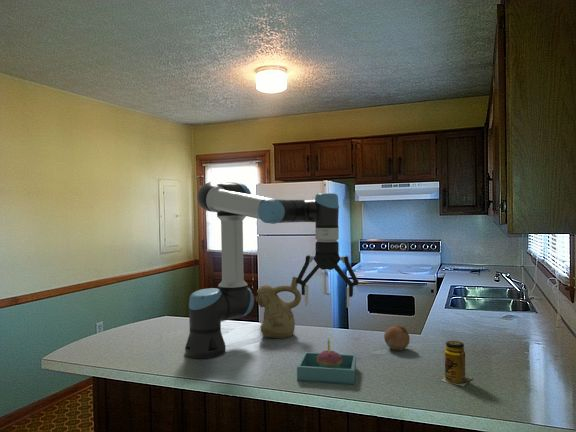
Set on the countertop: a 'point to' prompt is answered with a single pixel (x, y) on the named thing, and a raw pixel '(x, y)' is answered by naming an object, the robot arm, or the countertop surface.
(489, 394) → the countertop surface
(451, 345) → the condiment
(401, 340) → the onion
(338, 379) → the tub
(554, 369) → the countertop surface
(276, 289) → the ceramic vessel
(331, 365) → the cupcake
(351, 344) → the countertop surface
